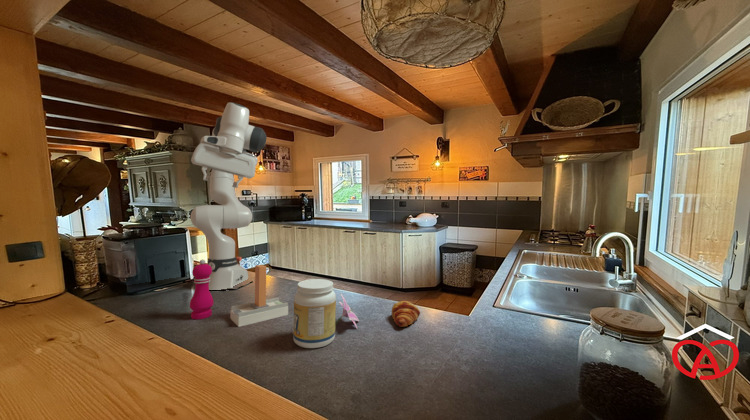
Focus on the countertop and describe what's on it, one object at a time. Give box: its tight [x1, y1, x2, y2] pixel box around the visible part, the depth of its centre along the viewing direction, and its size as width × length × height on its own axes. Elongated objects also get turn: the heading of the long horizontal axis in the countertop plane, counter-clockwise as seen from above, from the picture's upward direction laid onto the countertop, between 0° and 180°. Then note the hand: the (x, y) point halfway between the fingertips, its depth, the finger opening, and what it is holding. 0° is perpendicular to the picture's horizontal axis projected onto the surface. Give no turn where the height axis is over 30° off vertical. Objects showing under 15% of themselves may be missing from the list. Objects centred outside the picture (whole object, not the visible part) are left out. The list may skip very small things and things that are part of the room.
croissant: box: [391, 300, 421, 328], centre depth 104 cm, size 21×10×8 cm, turn 169°
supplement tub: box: [292, 278, 337, 349], centre depth 86 cm, size 12×12×17 cm
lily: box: [335, 293, 360, 329], centre depth 97 cm, size 12×12×10 cm
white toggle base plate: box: [229, 296, 289, 328], centre depth 103 cm, size 17×9×4 cm, turn 132°
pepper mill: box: [189, 259, 215, 320], centre depth 102 cm, size 7×7×20 cm
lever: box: [250, 264, 269, 309], centre depth 103 cm, size 4×6×15 cm, turn 42°
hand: (220, 183), depth 102 cm, fingers open, 8 cm apart
